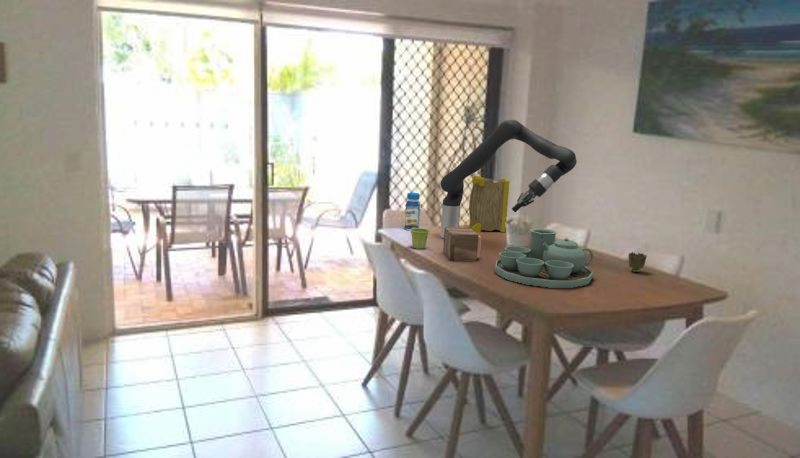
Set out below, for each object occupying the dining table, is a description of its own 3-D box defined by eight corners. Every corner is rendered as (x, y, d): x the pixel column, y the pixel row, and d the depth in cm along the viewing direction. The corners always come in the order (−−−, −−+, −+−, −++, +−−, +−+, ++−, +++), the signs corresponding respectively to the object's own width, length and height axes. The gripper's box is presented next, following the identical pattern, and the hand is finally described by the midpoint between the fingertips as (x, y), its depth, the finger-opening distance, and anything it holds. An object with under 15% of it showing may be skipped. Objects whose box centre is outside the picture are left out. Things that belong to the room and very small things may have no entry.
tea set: (476, 266, 266) (479, 229, 263) (552, 261, 282) (556, 226, 279) (530, 293, 231) (534, 250, 228) (614, 285, 247) (618, 245, 243)
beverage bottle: (422, 229, 340) (424, 193, 336) (412, 231, 334) (413, 194, 330) (411, 227, 345) (413, 191, 342) (400, 228, 339) (402, 192, 335)
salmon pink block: (453, 250, 287) (454, 231, 286) (473, 250, 289) (474, 231, 287) (459, 256, 276) (460, 236, 274) (479, 257, 277) (481, 237, 275)
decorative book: (502, 228, 353) (505, 176, 347) (506, 232, 342) (510, 178, 336) (467, 227, 351) (470, 175, 345) (470, 231, 340) (474, 177, 335)
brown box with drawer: (443, 252, 289) (444, 227, 287) (468, 252, 291) (469, 227, 288) (450, 260, 273) (452, 234, 271) (476, 261, 275) (478, 234, 273)
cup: (644, 271, 271) (646, 253, 269) (645, 275, 264) (647, 256, 263) (626, 268, 273) (628, 251, 272) (626, 272, 266) (628, 254, 265)
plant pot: (429, 246, 301) (430, 228, 299) (428, 250, 291) (429, 232, 290) (410, 244, 301) (411, 227, 300) (408, 249, 292) (409, 231, 291)
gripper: (531, 176, 286) (503, 202, 287) (541, 180, 273) (512, 207, 274) (541, 188, 288) (513, 213, 289) (551, 192, 275) (523, 219, 276)
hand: (513, 210), depth 281 cm, fingers closed
